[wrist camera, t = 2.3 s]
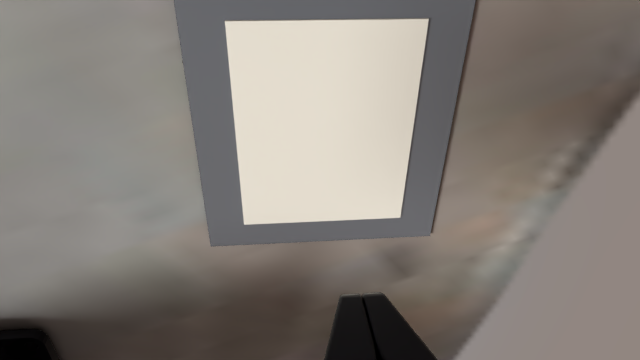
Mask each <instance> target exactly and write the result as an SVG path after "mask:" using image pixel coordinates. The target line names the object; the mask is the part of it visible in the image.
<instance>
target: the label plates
mask: <svg viewBox="0 0 640 360" xmlns="http://www.w3.org/2000/svg"><path fill="white" fill-rule="evenodd" d="M475 1H476V0H174V5H175V12H176V18H177V25H178V31H179V38H180V45H181V51H182V58H183V65H184V71H185V78H186V85H187V91H188V98H189V105H190V111H191V118H192V125H193V131H194V138H195V144H196V151H197V158H198V164H199V171H200V178H201V184H202V191H203V198H204V204H205V211H206V218H207V224H208V231H209V238H210V244H211V246H229V245H249V244H270V243H291V242H312V241H332V240H353V239H374V238H394V237H415V236H430V233H431V228H432V223H433V218H434V213H435V207H436V202H437V197H438V192H439V187H440V182H441V176H442V171H443V166H444V161H445V156H446V151H447V145H448V140H449V135H450V130H451V125H452V120H453V114H454V109H455V104H456V99H457V94H458V89H459V83H460V78H461V73H462V68H463V63H464V58H465V53H466V47H467V42H468V37H469V32H470V27H471V22H472V16H473V11H474V6H475Z"/></svg>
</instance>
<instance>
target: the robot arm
mask: <svg viewBox="0 0 640 360" xmlns="http://www.w3.org/2000/svg"><path fill="white" fill-rule="evenodd" d="M0 360H60V359H59V357H58V355H57V353H56V351H55V349H54V347H53V345H52V343H51V340H50V338H49V336H48V335H47V334H46V333H45V332H43V331H40V330H37V329H25V330H8V331H0ZM324 360H437V358H436V357H435V356H434V355H433V353H432V352H431V351H430V350H429V349H428V347H427V346H426V345H425V344H424V342H423V341H422V340H421V339H420V338H419V336H418V335H417V334H416V333H415V331H414V330H413V329H412V328H411V327H410V325H409V324H408V323H407V322H406V320H405V319H404V318H403V317H402V316H401V314H400V313H399V312H398V311H397V309H396V308H395V307H394V306H393V305H392V303H391V302H390V301H389V300H388V298H387V297H386V296H385V295H384V294H383V293H380V292H377V293H364V294H363V295H362V296H361V295H360V294H343V295H341V296H340V298H339V302H338V306H337V310H336V314H335V318H334V322H333V326H332V330H331V334H330V338H329V342H328V346H327V350H326V354H325V358H324Z"/></svg>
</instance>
